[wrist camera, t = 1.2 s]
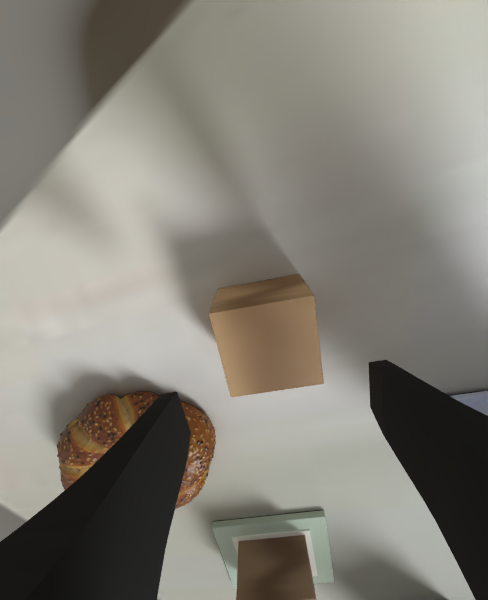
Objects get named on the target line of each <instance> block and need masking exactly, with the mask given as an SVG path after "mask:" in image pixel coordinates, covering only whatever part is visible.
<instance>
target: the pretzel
mask: <svg viewBox="0 0 488 600" xmlns="http://www.w3.org/2000/svg"><path fill="white" fill-rule="evenodd" d="M158 397H159V396H157V395H156V394H155V393H150V392H139V391H137V392H136V393H132V394H129V395H125V396H124V397H123V398H121V399H120V398H119V397H118V396H116V395H103V396H100V397H98V398H96V399H95V400H93V401H92V402H90V403H88V404H87V407H86V408H84V409H83V411H82V413H81V414H80V415H79V417H78V419H76V420H74V421H72V422H71V423H70V424H69V425H67V426H66V428H65V430H64V431H63V433H61V434H60V435H61V437H60V440H59V442H58V444H57V448H58V455H57V456H58V457H59V463H60V466H59V468H60V470H61V482H62V485H63V487H64V489H65V490H66V489H67V488H68V487H69V486H71V485H72V484H73V483H74V482H75V481H76V480H77V479H79V478H80V477H81V476H82V475H83V474H84V473H85V472H86V471H87V470H88V469H89V468H91V467H92V466H93V465H94V464H95V463H96V462H97V461H98V460H99V459H100V458H101V457H102V456H103V455H104V454H105V453H106V452H107V451H108V450H109V449H110V448H111V447H112V446H113V445H114V444H115V443H116V442H117V441H118V440H119V439H120V438H121V437H122V436H123V435H124V434H125V432H126V431H127V430H128V429H129V428H130V427H131V426H132V425H133V424H134V423H135V422H136V421H137V420H138V419H139V418H140V416H141V415H142V414H143V413H144V412H145V411H146V410H147V409H148V408H149V407H150V406H151V405H152V403H153V402H154V401H155V400H156V399H157V398H158ZM181 405H182V408H183V410H184V413H185V416H186V419H187V422H188V425H189V428H190V431H191V436H190V444H189V452H188V458H187V463H186V467H185V471H184V475H183V479H182V483H181V487H180V491H179V495H178V499H177V503H176V507H175V509H176V508H179V507H181V506H184V505H185V504H187V503H189V502H190V501H192V500H193V498H194V497H196V496H197V495H198V494H199V491H200V490H202V487H203V485H204V484H205V480H206V478H207V477H208V472H209V467H210V464H211V461H212V458H213V455H214V448H215V444H216V441H215V437H216V436H215V429H214V427H213V425H212V423H211V422H210V420H209V419H208V418H207V416H206V415H205V414H204V413H202V412H201V411H200V410H198V409H197V408H196V407H194V406H192V405H190V404H188V403H184V402H181Z"/></svg>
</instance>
